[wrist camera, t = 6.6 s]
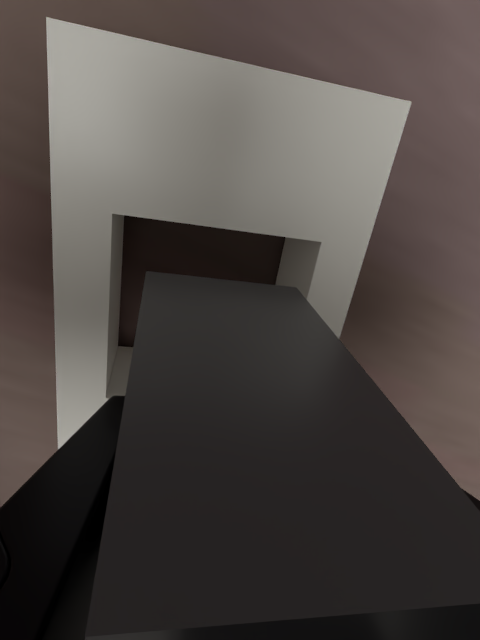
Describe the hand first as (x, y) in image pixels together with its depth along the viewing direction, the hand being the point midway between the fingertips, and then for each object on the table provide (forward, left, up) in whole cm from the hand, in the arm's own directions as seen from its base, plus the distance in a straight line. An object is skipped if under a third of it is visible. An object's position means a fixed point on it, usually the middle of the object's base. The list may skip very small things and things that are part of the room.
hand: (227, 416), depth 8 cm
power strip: (-6, 0, -8) cm, 10 cm away
